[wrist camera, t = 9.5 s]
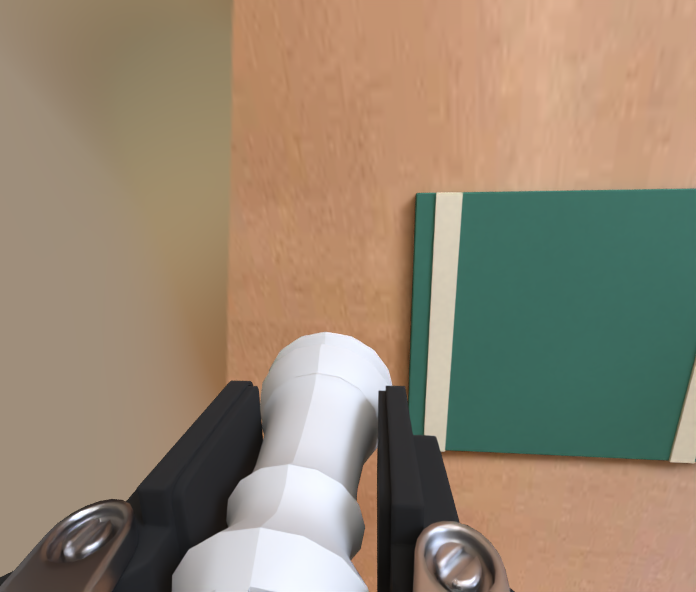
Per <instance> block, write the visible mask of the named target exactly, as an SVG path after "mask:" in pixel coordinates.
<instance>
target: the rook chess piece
mask: <svg viewBox="0 0 696 592" xmlns="http://www.w3.org/2000/svg"><path fill="white" fill-rule="evenodd" d="M386 386H392V383H391V378H390V374H389V370H388V368H387V367H386V366H385V364H384V363H383V362H382V360H381V359H380V358H379V356H378V355H377V354H376V352H375V351H374V350H373V349H371V348H370V347H368V346H366V345H365V344H363V343H361V342H360V341H358V340H357V339H355V338H353V337H352V336H346V335H341V334H335V333H330V332H322V333H317V334H312V335H307V336H302V337H300V338H298V339H297V340H295V341H294V342H292V343H291V344H289V345H288V346H286V347H285V348H284V349H282V350H281V351H280V353H279V354H278V356H277V358H276V359H275V361H274V363H273V364H272V366H271V368H270V369H269V373H268V375H267V377H266V378H265V380H264V382H263V384H262V392H261V402H260V411H261V419H262V429H263V432H264V439H263V442H262V446H261V449H260V453H259V456H258V459H257V463H256V466H255V468H254V470H253V472H252V474H251V475H249V476H247V477H246V478H244V479H242V480H241V481H240V482H239V483H238V485H237V486H236V488H235V489H234V491H233V493H232V494H231V496H230V497H229V499H228V506H227V519H226V522H227V525H228V528H227V529H225V530H223V531H221V532H219V533H217V534H216V535H214V536H212V537H210V538H208V539H207V540H205V541H203V542H201V543H200V544H198V545H196V546H194V547H192V548H191V549H189V550H188V551H187V553H186V555H185V556H184V558H183V559H182V561H181V563H180V564H179V566H178V567H177V569H176V570H175V572H174V574H173V575H172V592H369V591H368V587H367V586H366V584H365V583H364V581H363V579H362V578H361V576H360V575H359V573H358V572H357V570H356V569H355V567H354V565H353V564H352V562H351V559H352V558H353V557H354V556H355V555H356V554H357V552H358V551H359V550H360V549H361V544H362V540H363V535H364V530H365V525H364V521H363V518H362V514H361V511H360V507H359V504H358V503H357V502H356V501H357V488H358V484H359V480H360V476H361V472H362V467H363V465H364V463H365V462H366V461H367V459H368V458H369V457H370V456H371V455H372V454H373V452H374V451H375V450H376V448H377V447H378V390H381V391H386Z"/></svg>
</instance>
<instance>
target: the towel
mask: <svg viewBox="0 0 696 592" xmlns="http://www.w3.org/2000/svg"><path fill="white" fill-rule="evenodd" d="M408 408H409V414H410V420H411V426H412V432H413V435H430V436H436V438H437V441H438V444H439V448H440V451H442V452H445V450H453V451H475V452H496V453H518V454H539V455H561V456H582V457H604V458H625V459H647V460H669V462H677V463H694V462H696V189H642V190H580V191H519V192H446V193H417V194H416V202H415V229H414V257H413V284H412V311H411V338H410V365H409V393H408Z"/></svg>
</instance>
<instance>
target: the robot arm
mask: <svg viewBox="0 0 696 592" xmlns="http://www.w3.org/2000/svg"><path fill="white" fill-rule="evenodd" d="M262 442H263V435H262V423H261V411H260V399H259V389H258V387H257V386H253V384H252V382H251V381H230V382H229V383H228V384H227V386H226V387H225V388H224V389H223V390H222V391H221V392H220V394H219V395H218V396H217V397H216V398H215V399H214V400H213V402H212V403H211V404H210V405H209V406H208V407H207V409H206V410H205V411H204V412H203V413H202V414H201V415H200V416H199V418H198V419H197V420H196V421H195V422H194V423H193V424H192V426H191V427H190V428H189V429H188V430H187V431H186V433H185V434H184V435H183V436H182V437H181V438H180V439H179V440H178V442H177V443H176V444H175V445H174V446H173V447H172V448H171V450H170V451H169V452H168V453H167V454H166V455H165V457H164V458H163V459H162V460H161V461H160V462H159V463H158V464H157V466H156V467H155V468H154V469H153V470H152V471H151V473H150V474H149V475H148V476H147V477H146V478H145V479H144V480H143V482H142V483H141V484H140V485H139V486H138V487H137V489H136V491H135V492H134V493H133V494H132V495H131V496H130V497H129V499H128V500H127V501H126V502H125V501H123V500H117V499H110V500H104V501H99V502H96V503H93V504H90V505H87V506H85V507H83V508H81V509H79V510H77V511H75V512H74V513H72V514H70V515H69V516H67V517H66V518H64V519H63V520H62V521H60V522H59V523H57V524H56V525H55V526H54V527H53V528H52V529H51V530H50V531H49V532H48V533H47V534H46V535H45V536H44V537H43V538H42V540H41V541H40V542H39V543H38V544H37V545H36V546H35V547H34V549H33V550H32V551H31V552H30V553H29V554H28V555H27V557H26V558H25V559H24V560H23V561H22V562H21V563H20V565H19V566H18V567H17V568H16V569H15V570H14V571H12V572H10V573H8V574H6V575H4V576H2V577H0V592H172V575H173V574H174V572H175V570H176V569H177V567H178V566H179V564H180V563H181V561H182V559H183V558H184V556H185V555H186V553H187V551H188V550H189V549H191V548H192V547H194V546H196V545H198V544H200V543H201V542H203V541H205V540H207V539H208V538H210V537H212V536H214V535H216V534H217V533H219V532H221V531H223V530H225V529H227V528H228V525H227V522H226V519H227V506H228V499H229V497H230V496H231V494H232V493H233V491H234V489H235V488H236V486H237V485H238V483H239V482H240V481H241V480H242V479H244V478H246V477H247V476H249V475H251V474H252V472H253V470H254V468H255V466H256V463H257V459H258V456H259V453H260V449H261V446H262ZM377 592H514V591H513V590H512V589H511V588H509V583H508V579H507V574H506V570H505V567H504V564H503V562H502V559H501V557H500V555H499V553H498V552H497V550H496V549H495V548H494V546H493V545H492V543H491V542H490V541H489V540H488V539H486V538H485V537H484V536H483V535H482V534H481V533H480V532H478V531H476V530H475V529H473V528H471V527H469V526H468V525H464V524H461V523H460V522H459V519H458V515H457V511H456V507H455V504H454V500H453V496H452V492H451V489H450V485H449V481H448V478H447V474H446V470H445V466H444V463H443V459H442V455H441V451H440V448H439V444H438V441H437V438H436V436H430V435H413V432H412V426H411V420H410V414H409V408H408V401H407V395H406V389H405V386H386V391H381V390H378V454H377Z"/></svg>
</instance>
